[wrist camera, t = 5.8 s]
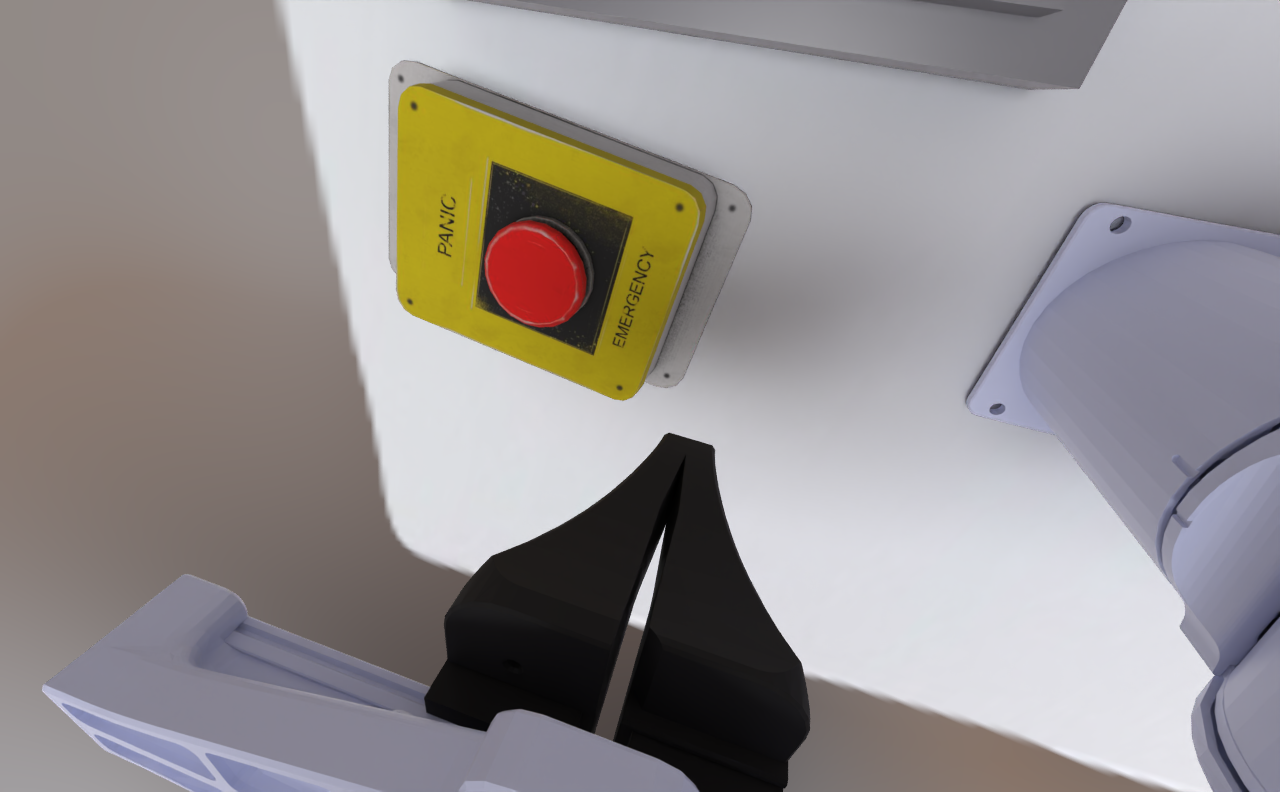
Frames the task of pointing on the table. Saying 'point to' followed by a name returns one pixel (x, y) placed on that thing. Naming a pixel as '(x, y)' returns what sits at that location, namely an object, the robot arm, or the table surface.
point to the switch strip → (888, 31)
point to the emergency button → (552, 235)
